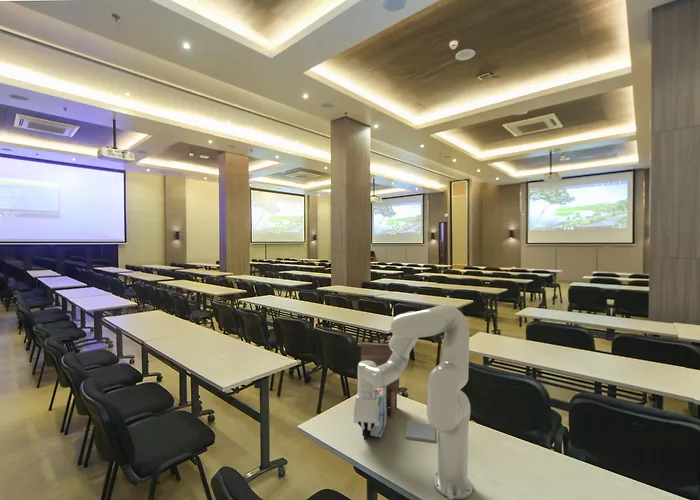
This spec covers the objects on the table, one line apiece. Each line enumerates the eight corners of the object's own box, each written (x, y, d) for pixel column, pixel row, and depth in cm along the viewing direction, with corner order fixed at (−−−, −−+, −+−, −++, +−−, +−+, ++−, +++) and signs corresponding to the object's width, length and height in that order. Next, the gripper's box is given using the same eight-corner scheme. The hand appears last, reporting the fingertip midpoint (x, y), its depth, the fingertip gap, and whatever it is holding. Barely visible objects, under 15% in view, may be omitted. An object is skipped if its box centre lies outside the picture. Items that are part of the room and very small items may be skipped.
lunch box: (365, 409, 163) (365, 365, 163) (386, 411, 161) (387, 366, 161) (360, 442, 135) (361, 388, 135) (386, 444, 134) (386, 390, 134)
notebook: (435, 443, 136) (435, 440, 136) (405, 440, 138) (405, 436, 138) (434, 428, 147) (434, 424, 147) (407, 425, 150) (407, 421, 150)
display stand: (395, 416, 156) (395, 350, 156) (357, 412, 160) (358, 347, 160) (396, 407, 166) (397, 344, 165) (361, 403, 170) (361, 342, 169)
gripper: (386, 390, 136) (386, 435, 136) (350, 387, 139) (350, 430, 139) (384, 398, 128) (383, 446, 129) (346, 394, 132) (346, 440, 132)
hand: (366, 438), depth 134 cm, fingers closed
